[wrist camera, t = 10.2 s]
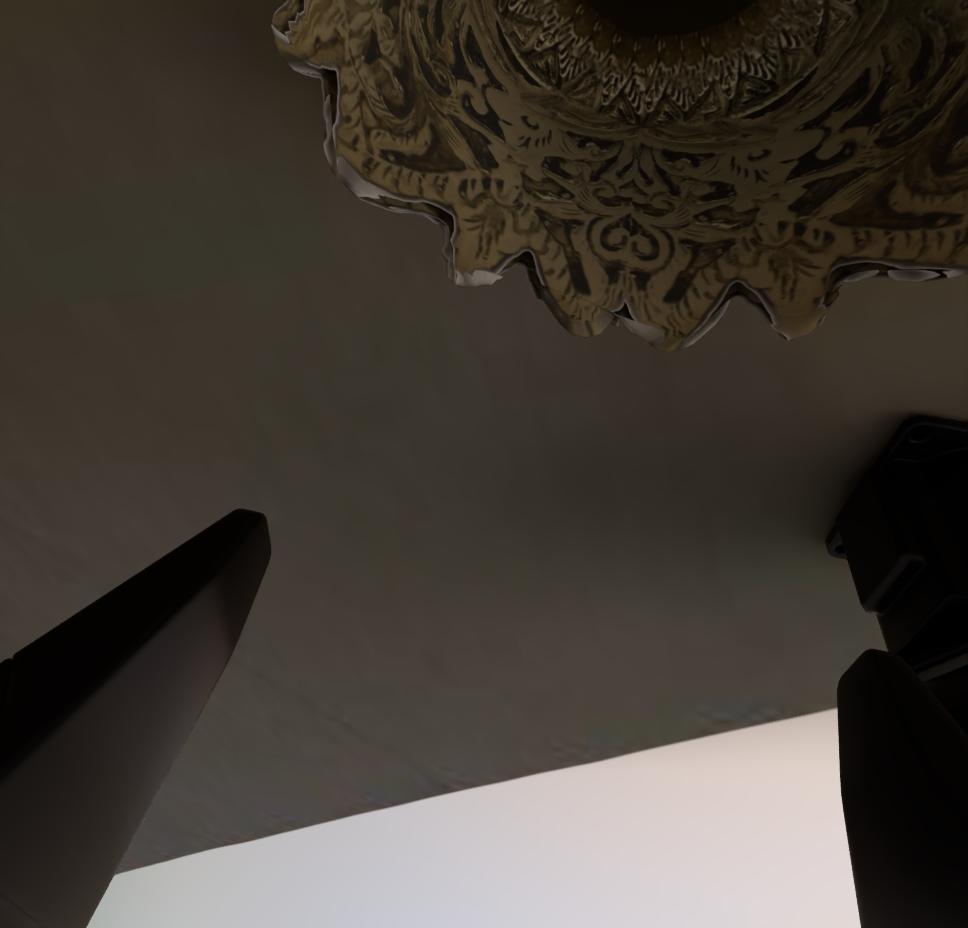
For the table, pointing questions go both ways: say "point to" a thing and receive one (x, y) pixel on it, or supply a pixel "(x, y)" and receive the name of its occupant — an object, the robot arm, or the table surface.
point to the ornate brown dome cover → (655, 145)
